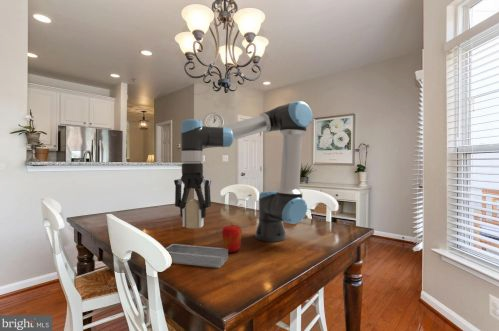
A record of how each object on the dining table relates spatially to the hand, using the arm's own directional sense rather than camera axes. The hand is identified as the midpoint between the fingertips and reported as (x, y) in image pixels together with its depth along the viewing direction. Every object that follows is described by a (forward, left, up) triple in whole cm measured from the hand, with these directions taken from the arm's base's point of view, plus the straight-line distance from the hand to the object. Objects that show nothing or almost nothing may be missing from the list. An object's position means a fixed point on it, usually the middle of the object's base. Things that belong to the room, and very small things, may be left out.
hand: (193, 226), depth 93 cm
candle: (0, -1, -1) cm, 1 cm away
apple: (-10, -17, -14) cm, 24 cm away
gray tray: (+1, -4, -14) cm, 15 cm away
